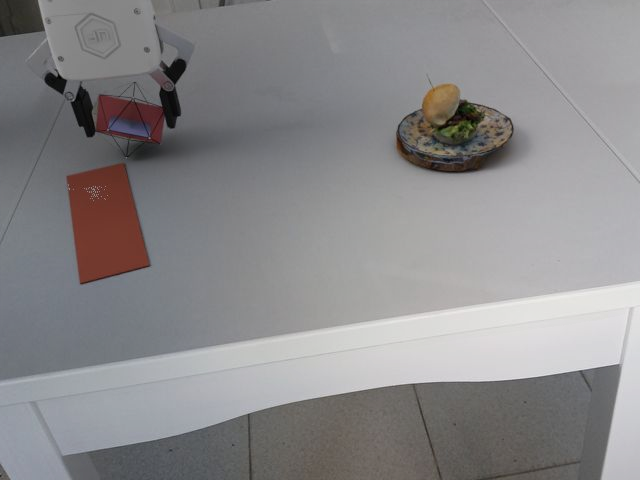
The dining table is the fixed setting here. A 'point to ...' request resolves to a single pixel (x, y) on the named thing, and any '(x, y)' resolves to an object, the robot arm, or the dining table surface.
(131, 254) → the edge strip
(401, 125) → the burger
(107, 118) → the geometric puzzle
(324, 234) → the dining table surface
